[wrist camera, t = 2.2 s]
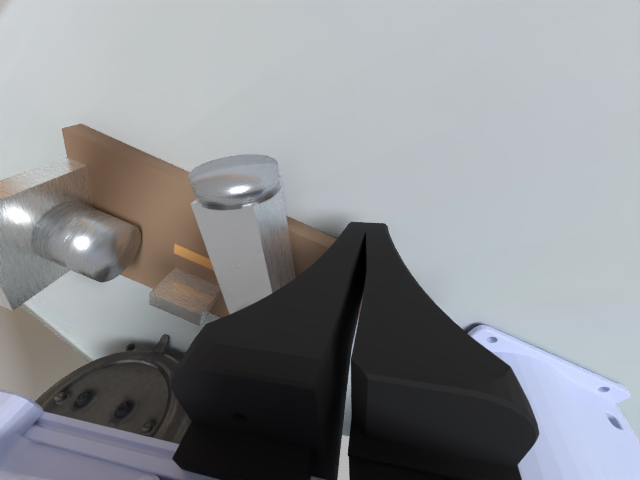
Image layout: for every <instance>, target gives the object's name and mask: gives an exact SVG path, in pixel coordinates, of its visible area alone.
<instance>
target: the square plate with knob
mask: <svg viewBox="0 0 640 480" xmlns="http://www.w3.org/2000/svg"><path fill="white" fill-rule="evenodd" d="M140 242H141V233H140V230H139V229H138V227H136V226H134V225H132V224H130V223H127V222H125V221H123V220H120V219H118V218H116V217H113V216H111V215H109V214H107V213H104V212H102V211H100V210H97V209H95V208H93V207H92V200H91V193H90V187H89V180H88V174H87V167H86V165H83V164H81V163H79V162H77V161H74V160H72V159H70V158H68V157H67V158H64V159H61V160H58V161H55V162H53V163H50V164H47V165H44V166H41V167H38V168H35V169H32V170H29V171H27V172H24V173H21V174H18V175H15V176H12V177H9V178H6V179H3V180H1V181H0V306H2V307H5V308H7V309H10V310H12V311H13V310H14V309H16V308H17V307H19V306H20V305H22V304H23V303H24V302H26V301H27V300H29V299H30V298H32V297H33V296H34V295H36V294H37V293H39V292H40V291H42V290H43V289H44V288H46V287H47V286H49V285H50V284H52V283H53V282H54V281H56V280H57V279H59V278H60V277H62V276H63V275H64V274H66V273H67V272H69V271H70V270H72V271H75V272H77V273H79V274H82V275H84V276H87V277H89V278H91V279H94V280H96V281H99V282H107V281H110V280H112V279H114V278H115V277H117V276H118V275H120V274H121V273H122V272H123V271H124V270H125V269H126V268H127V267H128V266H129V264H130V263H131V262H132V260H133V259H134V257H135V255H136V253H137V251H138V249H139V246H140ZM220 290H221V289H220V287H218V286H216V285H214V284H212V283H209V282H207V281H205V280H202V279H200V278H198V277H195V276H193V275H191V274H188V273H186V272H184V271H181V270H179V269H177V268H174V269H173V270H172V271H171V272H170V273H169V274H168V275H167V276H166V277H165V278H164V279H163V280H162V281H161V282H160V283H159V285H158V286H157V287H156V288H155V289H154V290H153V291H152V292H151V293H150V305H152V306H155V307H157V308H159V309H162V310H164V311H166V312H169V313H171V314H174V315H176V316H178V317H181V318H183V319H185V320H188V321H190V322H192V323H195V324H197V325H200V324H201V323H202V321H203V320H204V318H205V317H206V315H207V314H208V312H209V311H210V310H211V308H212V307H213V305H214V304H215V302H216V301H217V299H218V298H219V295H220Z"/></svg>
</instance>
